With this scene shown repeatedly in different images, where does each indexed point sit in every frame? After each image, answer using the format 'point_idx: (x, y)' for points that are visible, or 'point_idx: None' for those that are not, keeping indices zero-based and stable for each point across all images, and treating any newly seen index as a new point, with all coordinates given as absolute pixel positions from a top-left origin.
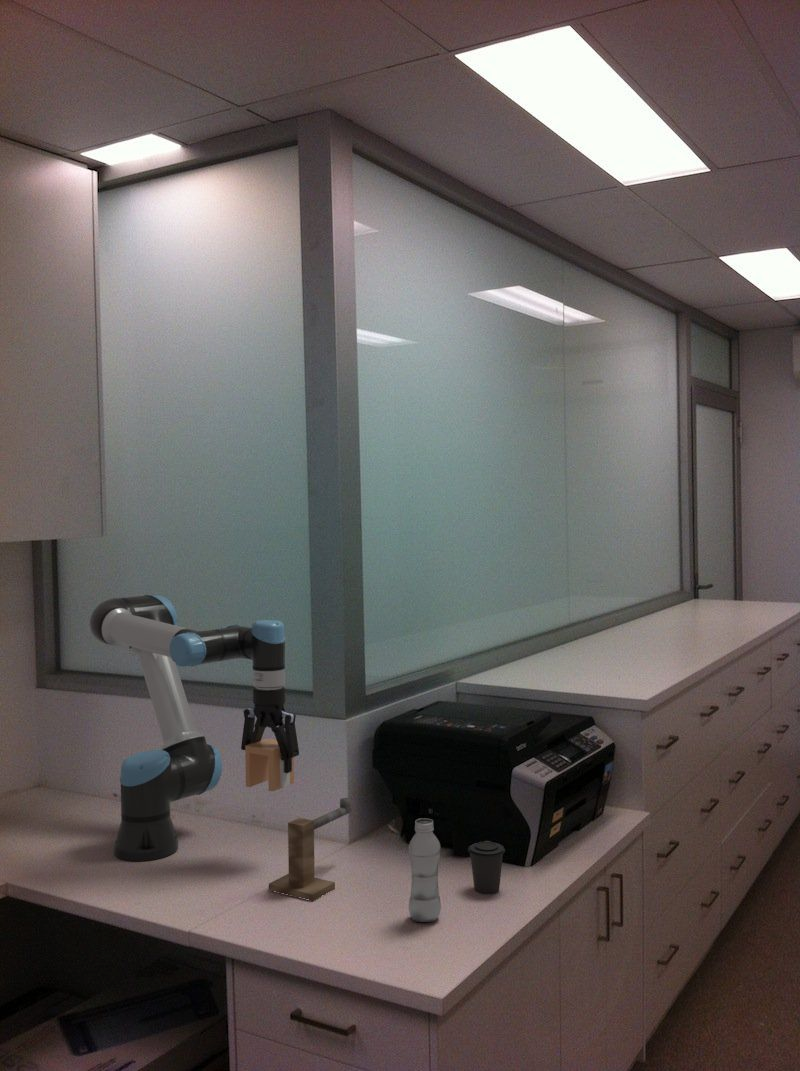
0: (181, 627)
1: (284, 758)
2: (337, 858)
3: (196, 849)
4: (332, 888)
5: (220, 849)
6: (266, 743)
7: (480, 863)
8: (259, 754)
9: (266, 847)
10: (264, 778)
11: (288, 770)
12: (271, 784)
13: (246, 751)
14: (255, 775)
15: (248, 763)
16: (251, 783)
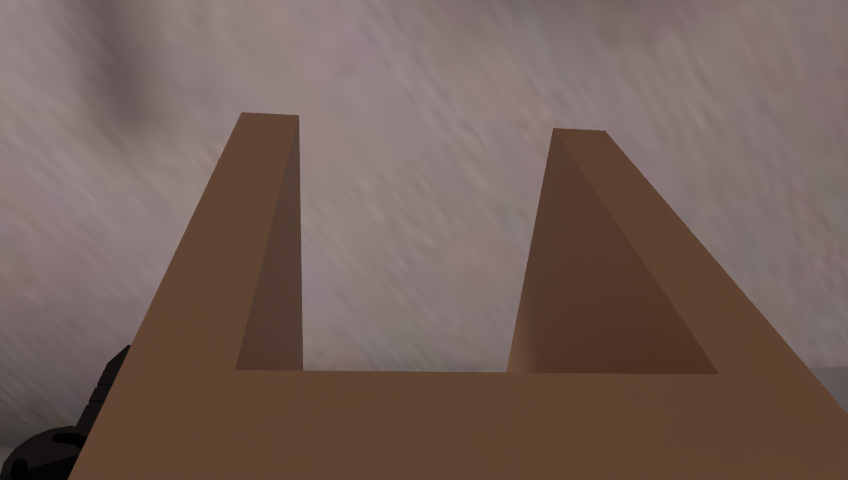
0: None
1: (9, 456)
2: (166, 236)
3: (813, 55)
4: None
5: (702, 105)
6: None
7: None
8: (472, 376)
9: (518, 210)
10: (522, 338)
11: (107, 373)
12: (248, 141)
13: (801, 391)
14: (561, 261)
15: (663, 263)
16: (556, 167)
